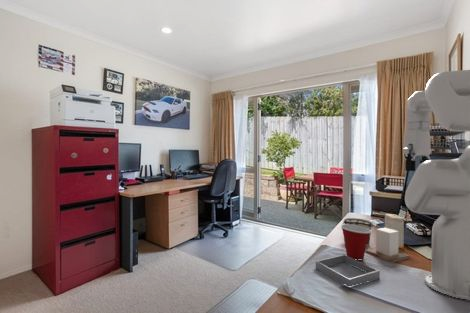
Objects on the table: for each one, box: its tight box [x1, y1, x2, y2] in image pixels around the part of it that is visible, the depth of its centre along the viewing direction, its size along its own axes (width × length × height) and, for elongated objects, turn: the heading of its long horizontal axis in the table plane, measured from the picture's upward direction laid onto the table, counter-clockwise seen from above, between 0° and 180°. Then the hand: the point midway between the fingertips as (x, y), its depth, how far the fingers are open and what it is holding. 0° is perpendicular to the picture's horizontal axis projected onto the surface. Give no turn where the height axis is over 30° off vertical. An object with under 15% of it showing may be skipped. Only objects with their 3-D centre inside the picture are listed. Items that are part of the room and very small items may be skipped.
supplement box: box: [384, 213, 405, 249], centre depth 109 cm, size 8×5×13 cm, turn 168°
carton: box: [375, 227, 399, 256], centre depth 98 cm, size 6×6×9 cm
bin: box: [315, 254, 381, 287], centre depth 82 cm, size 14×14×2 cm
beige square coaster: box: [365, 246, 411, 264], centre depth 97 cm, size 11×11×1 cm
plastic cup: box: [340, 223, 372, 260], centre depth 95 cm, size 11×11×12 cm
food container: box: [342, 217, 374, 246], centre depth 113 cm, size 12×6×10 cm, turn 65°
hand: (417, 170), depth 96 cm, fingers open, 9 cm apart
